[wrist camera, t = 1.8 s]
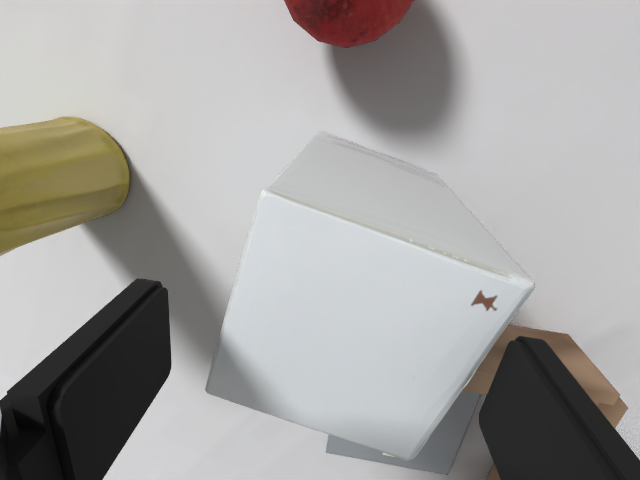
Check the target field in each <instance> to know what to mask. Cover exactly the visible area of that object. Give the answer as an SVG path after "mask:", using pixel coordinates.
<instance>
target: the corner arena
mask: <svg viewBox="0 0 640 480" xmlns="http://www.w3.org/2000/svg"><path fill="white" fill-rule="evenodd" d="M518 336H525V337H531V338H538V339H542V340H544V341H546V342H547V344H548V345H549V346H550V347H551V349H552V350H553V351H554V352H555V354H556V355H557V356H558V358H559V359H560V360H561V361H562V363H563V364H564V365H565V366H566V368H567V369H568V370H569V371H570V373H571V374H572V375H573V377H574V378H575V379H576V380H577V382H578V383H579V384H580V385H581V387H582V388H583V389H584V390H585V392H586V393H587V394H588V395H589V397H590V398H591V399H592V401H593V402H594V403H595V404H596V406H597V407H598V408H599V409H600V411H601V412H602V413H603V414H604V416H605V417H606V418H607V420H608V421H609V422H610V423H611V425H612V426H613V427H614V428H615V427H616V426H617V424H618V423H619V421H620V420H621V418H622V417H623V415H624V414H625V412H626V410H627V409H628V407H627V406H626V404H625V403H624V402H623V401H622V400H621V399H620V397H619V396H620V394H619V393H618V392H617V390H616V389H615V388H614V387H613V386H612V385H611V384H610V382H609V381H608V380H607V379H606V378H605V377H604V375H603V374H602V373H601V372H600V371H599V370H598V368H597V367H596V366H595V365H594V364H593V363H592V361H591V360H590V359H589V358H588V357H587V356H586V354H585V353H584V352H583V351H582V350H581V349H580V348H579V346H578V345H577V344H576V343H575V342H574V341H573V339H572V338H571V337H570V336H569V335H568V334H562V333H556V332H550V331H544V330H537V329H531V328H525V327H519V326H513V325H507V327H506V328H505V330H504V331H503V332H502V334H501V335H500V337H499V338H498V339H497V341H496V342H495V344H494V345H493V347H492V348H491V349H490V351H489V352H488V354H487V355H486V357H485V358H484V360H483V361H482V362H481V364H480V365H479V367H478V368H477V370H476V371H475V373H474V375H473V377H472V378H471V379H470V381H469V382H468V384H467V385H466V386H465V387H464V388H463V391H469V392H474V393H480V394H486V395H487V393H488V391H489V389H490V386H491V384H492V381H493V379H494V376H495V374H496V372H497V369H498V367H499V364H500V362H501V360H502V357H503V355H504V352H505V350H506V347H507V345H508V343H509V342H510V341H512V340H515V339H516V338H517V337H518ZM486 480H501V479H500V477H499V474H498V471H497V469H496V466H495V464H493V466H492V468H491V470H490V473H489V475H488V477H487V479H486Z"/></svg>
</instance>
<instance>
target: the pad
mask: <svg viewBox="0 0 640 480" xmlns="http://www.w3.org/2000/svg"><path fill="white" fill-rule="evenodd" d="M479 397H480V393H474V392H469V391H463V390H462V391H461V392H460V394H459V395H458V397H457V398H456V399H455V401H454V402H453V404H452V405H451V407H450V408H449V409H448V411H447V412H446V414H445V415H444V417H443V418H442V419H441V421H440V422H439V424H438V425H437V426H436V428H435V429H434V431H433V432H432V433H431V435H430V436H429V438H428V440H427V441H426V443H425V444H424V445H423V447H422V448H421V450H420V451H419V452H418V454H417V455H416V456H415V458H413V459H412V460H410V461H405V460H403V459H400V458H397V457H395V456H392V455H389V454H386V453H383V452H381V451H378V450H375V449H372V448H370V447H367V446H364V445H361V444H358V443H355V442H352V441H348V440H345V439H342V438H339V437H336V436H333V435H330V434H329V437H328V443H327V448H326V453H330V454H336V455H341V456H347V457H352V458H358V459H363V460H369V461H374V462H380V463H385V464H391V465H396V466H402V467H407V468H412V469H418V470H423V471H429V472H434V473H440V474H445V475H448V472H449V470H450V468H451V465H452V463H453V460H454V458H455V455H456V453H457V450H458V448H459V446H460V443H461V441H462V438H463V436H464V433H465V431H466V428H467V426H468V424H469V421H470V419H471V416H472V414H473V411H474V409H475V407H476V404H477V402H478V399H479Z"/></svg>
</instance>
